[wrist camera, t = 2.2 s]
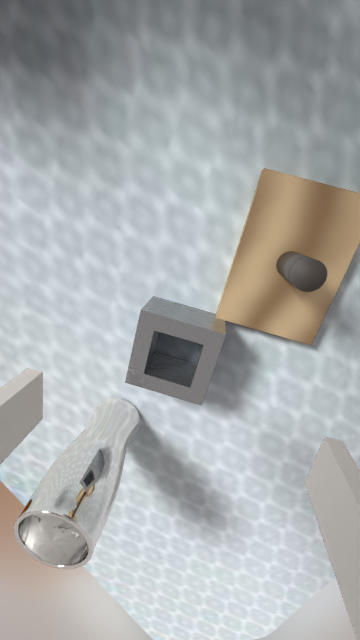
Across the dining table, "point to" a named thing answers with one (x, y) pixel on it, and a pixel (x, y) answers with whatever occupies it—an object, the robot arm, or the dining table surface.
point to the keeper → (291, 256)
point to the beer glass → (79, 490)
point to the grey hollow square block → (167, 370)
